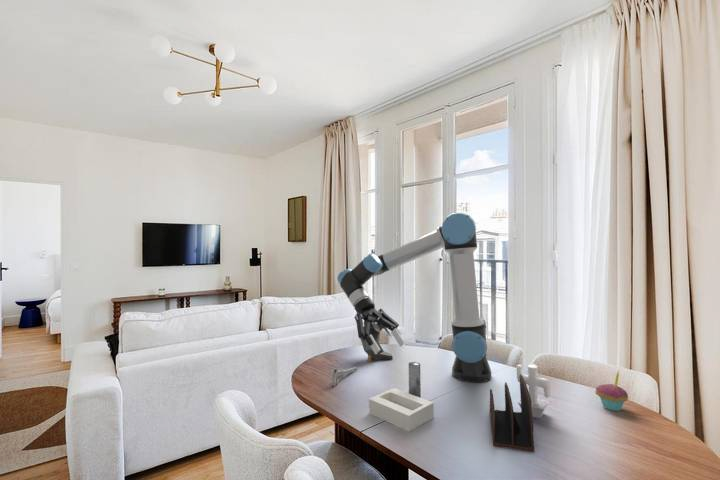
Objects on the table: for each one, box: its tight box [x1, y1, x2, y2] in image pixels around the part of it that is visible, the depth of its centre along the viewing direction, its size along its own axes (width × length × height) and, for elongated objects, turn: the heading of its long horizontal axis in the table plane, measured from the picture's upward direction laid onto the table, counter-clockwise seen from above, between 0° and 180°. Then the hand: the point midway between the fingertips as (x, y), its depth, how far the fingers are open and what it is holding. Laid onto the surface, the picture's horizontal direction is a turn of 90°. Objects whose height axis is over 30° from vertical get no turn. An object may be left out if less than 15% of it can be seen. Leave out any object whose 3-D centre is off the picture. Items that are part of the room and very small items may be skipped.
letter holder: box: [489, 374, 535, 453], centre depth 102 cm, size 10×20×14 cm, turn 163°
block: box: [368, 387, 435, 432], centre depth 111 cm, size 16×12×4 cm
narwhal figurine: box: [359, 323, 394, 362], centre depth 167 cm, size 14×15×18 cm
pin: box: [408, 361, 422, 398], centre depth 123 cm, size 4×4×12 cm
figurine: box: [516, 363, 551, 420], centre depth 111 cm, size 7×9×15 cm
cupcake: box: [594, 370, 629, 412], centre depth 115 cm, size 9×8×12 cm
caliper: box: [331, 367, 359, 387], centre depth 144 cm, size 21×1×6 cm, turn 156°
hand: (390, 348), depth 131 cm, fingers open, 13 cm apart
